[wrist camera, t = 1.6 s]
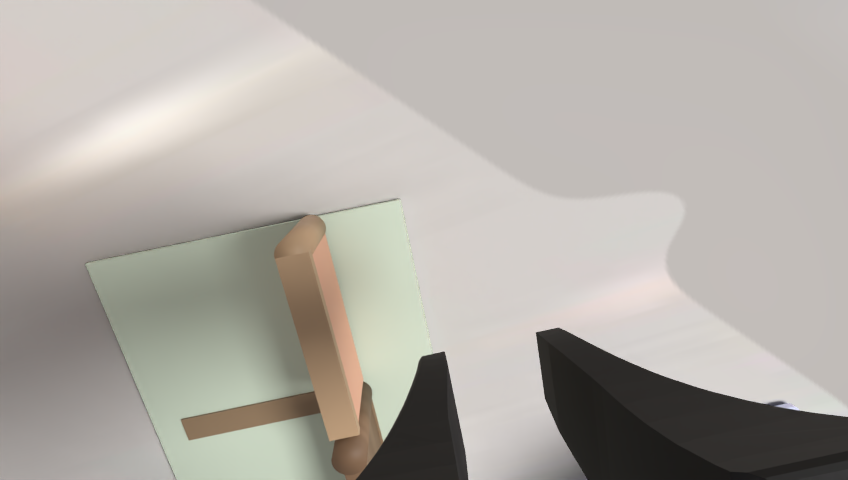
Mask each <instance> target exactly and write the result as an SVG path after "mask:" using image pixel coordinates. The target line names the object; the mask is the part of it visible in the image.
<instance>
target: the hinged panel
mask: <svg viewBox="0 0 848 480" xmlns="http://www.w3.org/2000/svg"><path fill="white" fill-rule="evenodd" d="M325 232H326V225H325V223H324V221H323V220H322V219H321V218H320V217H318V216H316V215H307V216H305V217H303V218H302V219H301V220H300V221H299V222H298V223H297V224H296V225H295V226H294V227H293V228H292V230H291V231H290V232H289V233H288V234H287V235H286V236H285V237H284V238H283V239H282V240H281V241H280V242H279V244H278V245H277V246H276V248H275V251H274V258H275V261H276V265H277V268H278V271H279V275H280V278H281V281H282V285H283V288H284V291H285V295H286V298H287V301H288V305H289V308H290V311H291V315H292V318H293V321H294V325H295V328H296V331H297V335H298V338H299V341H300V345H301V348H302V351H303V355H304V358H305V361H306V365H307V368H308V371H309V375H310V378H311V381H312V385H313V388H314V391H315V395H316V398H317V401H318V405H319V408H320V411H321V415H322V418H323V421H324V425H325V428H326V431H327V435H328V438H329V441H333V440H338V439H343V438H348V437H352V436H357V435H359V434H360V426H359V413H360V404H361V396H362V387H363V375H362V371H361V367H360V364H359V360H358V356H357V352H356V348H355V345H354V341H353V337H352V333H351V329H350V326H349V322H348V318H347V314H346V310H345V307H344V303H343V299H342V295H341V291H340V288H339V284H338V280H337V276H336V272H335V269H334V265H333V261H332V257H331V253H330V250H329V246H328V242H327V238H326V234H325Z"/></svg>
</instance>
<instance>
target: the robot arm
mask: <svg viewBox="0 0 848 480" xmlns="http://www.w3.org/2000/svg"><path fill="white" fill-rule="evenodd" d="M536 336H537V343H538V351H539V358H540V365H541V373H542V380H543V387H544V394H545V399H546V402H547V404H548V407H549V409H550V411H551V414H552V416H553V418H554V420H555V423H556V425H557V427H558V429H559V432H560V433H561V435H562V437H563V439H564V440H565V442H566V444H567V446H568V447H569V449H570V451H571V452H572V454H573V456H574V457H575V459H576V461H577V463H578V464H579V466H580V468H581V469H582V471H583V473H584V474H585V476H586V478H587V479H588V480H848V417H843V416H835V415H826V414H818V413H811V412H805V411H799V409H798V408H797V407H795V406H794V405H793V404H790V403H786V404H781V405H777V406H771V405H766V404H761V403H756V402H751V401H747V400H743V399H739V398H735V397H731V396H727V395H723V394H719V393H715V392H711V391H708V390H704V389H701V388H697V387H694V386H691V385H688V384H685V383H682V382H679V381H676V380H673V379H670V378H667V377H664V376H661V375H659V374H656V373H653V372H651V371H649V370H646V369H644V368H641V367H639V366H637V365H634V364H632V363H630V362H627V361H625V360H623V359H621V358H618V357H616V356H614V355H612V354H610V353H608V352H606V351H604V350H602V349H600V348H598V347H596V346H594V345H592V344H590V343H588V342H586V341H584V340H582V339H580V338H578V337H576V336H575V335H573V334H571V333H569V332H567V331H565V330H562V329H560V328H555V329H550V330H546V331H541V332H536ZM356 480H468V473H467V464H466V455H465V448H464V444H463V439H462V434H461V429H460V424H459V419H458V414H457V409H456V404H455V399H454V394H453V389H452V384H451V379H450V374H449V369H448V364H447V360H446V356H445V352H440V353H435V354H431V355H426V356H422V357H421V358H420V360H419V362H418V367H417V371H416V374H415V377H414V380H413V383H412V386H411V388H410V390H409V393H408V395H407V398H406V400H405V402H404V405H403V407H402V409H401V411H400V413H399V415H398V417H397V419H396V421H395V422H394V424H393V426H392V428H391V430H390V432H389V433H388V435H387V437H386V438H385V440H384V442H383V443H382V445H381V446H380V448H379V449H378V451H377V452H376V454H375V455H374V457H373V458H372V459H371V461H370V462H369V463H368V465H367V466H366V467H365V469H364V470H363V471H362V472H361V474H360V475H359V476H358V477H357V479H356Z"/></svg>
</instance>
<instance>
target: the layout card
mask: <svg viewBox="0 0 848 480" xmlns="http://www.w3.org/2000/svg"><path fill="white" fill-rule="evenodd" d="M317 216H318V217H320V218H321V219H322V220H323V221H324V223H325V225H326V232H325V234H326V238H327V242H328V246H329V250H330V253H331V257H332V261H333V265H334V269H335V272H336V276H337V280H338V284H339V288H340V291H341V295H342V299H343V303H344V307H345V310H346V314H347V318H348V322H349V326H350V329H351V333H352V337H353V341H354V345H355V348H356V352H357V356H358V360H359V364H360V367H361V371H362V375H363V381H364V382H366V383H367V384H369V385H370V387H371V389H372V404H371V406H372V410H373V414H374V417H375V421H376V425H377V429H378V433H379V436H380V440H381V444H382V443H383V442H384V440H385V438H386V437H387V435H388V433H389V432H390V430H391V428H392V426H393V424H394V422H395V421H396V419H397V417H398V415H399V413H400V411H401V409H402V407H403V405H404V402H405V400H406V398H407V395H408V393H409V390H410V388H411V386H412V383H413V380H414V377H415V374H416V371H417V367H418V362H419V360H420V358H421V357H422V356H426V355H431V354H433V352H432V347H431V342H430V338H429V333H428V328H427V323H426V319H425V314H424V309H423V304H422V300H421V295H420V290H419V285H418V281H417V276H416V271H415V266H414V262H413V257H412V252H411V248H410V243H409V238H408V233H407V229H406V224H405V219H404V214H403V210H402V205H401V200H400V199H396V200H391V201H386V202H381V203H376V204H372V205H367V206H362V207H357V208H352V209H347V210H342V211H337V212H332V213H327V214H322V215H317ZM300 220H301V219H298V220H293V221H288V222H283V223H278V224H273V225H268V226H263V227H259V228H254V229H249V230H244V231H239V232H234V233H229V234H224V235H219V236H214V237H209V238H205V239H200V240H195V241H190V242H185V243H180V244H175V245H170V246H165V247H160V248H155V249H151V250H146V251H141V252H136V253H131V254H126V255H121V256H116V257H111V258H106V259H101V260H96V261H92V262H88V263H86V264H85V265H86V268H87V270H88V272H89V275H90V277H91V279H92V282H93V284H94V286H95V289H96V291H97V294H98V296H99V298H100V301H101V303H102V305H103V308H104V310H105V312H106V315H107V317H108V320H109V322H110V324H111V327H112V329H113V331H114V334H115V336H116V338H117V341H118V343H119V345H120V348H121V350H122V353H123V355H124V357H125V360H126V362H127V364H128V367H129V369H130V371H131V374H132V376H133V378H134V381H135V383H136V386H137V388H138V390H139V393H140V395H141V397H142V400H143V402H144V404H145V407H146V409H147V411H148V414H149V416H150V419H151V421H152V423H153V426H154V428H155V430H156V433H157V435H158V437H159V440H160V442H161V444H162V447H163V449H164V452H165V454H166V456H167V459H168V461H169V463H170V466H171V468H172V470H173V473H174V475H175V477H176V480H346V478H345V475H344V474H341V473H339V472H337V471H336V470H335V469H334V467H333V466H332V462H331V459H332V453H333V448H334V442H335V440H333V441H329V438H328V435H327V431H326V428H325V425H324V421H323V418H322V415H321V411H320V408H319V405H318V401H317V398H316V395H315V391H314V388H313V385H312V381H311V378H310V375H309V371H308V368H307V365H306V361H305V358H304V355H303V351H302V348H301V345H300V341H299V338H298V335H297V331H296V328H295V325H294V321H293V318H292V315H291V311H290V308H289V305H288V301H287V298H286V295H285V291H284V288H283V285H282V281H281V278H280V275H279V271H278V268H277V265H276V261H275V258H274V251H275V248H276V246H277V245H278V244H279V242H280V241H281V240H282V239H283V238H284V237H285V236H286V235H287V234H288V233H289V232H290V231H291V230H292V228H293V227H294V226H295V225H296V224H297V223H298V222H299V221H300Z"/></svg>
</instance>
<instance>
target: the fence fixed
mask: <svg viewBox="0 0 848 480" xmlns="http://www.w3.org/2000/svg"><path fill="white" fill-rule="evenodd" d="M371 404H372V389H371V387H370V385H369V384H367V383H366V382H364V381H363V387H362V396H361V404H360V413H359V426H360V434H359V435H357V436H352V437H348V438H343V439H338V440H335V442H334V448H333V453H332V459H331V462H332V466H333V467H334V469H335V470H336V471H337V472H339V473H341V474H344V475H345V478H346V480H356V479H357V477H358V476H359V475H360V474H361V472H362V471H363V470H364V469H365V467H366V466H367V465H368V463H369V462H370V461H371V459H372V458H373V457H374V455H375V454H376V452H377V451H378V449H379V448H380V446H381V445H382V444H381V440H380V436H379V433H378V429H377V425H376V421H375V417H374V414H373V410H372V406H371Z"/></svg>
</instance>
